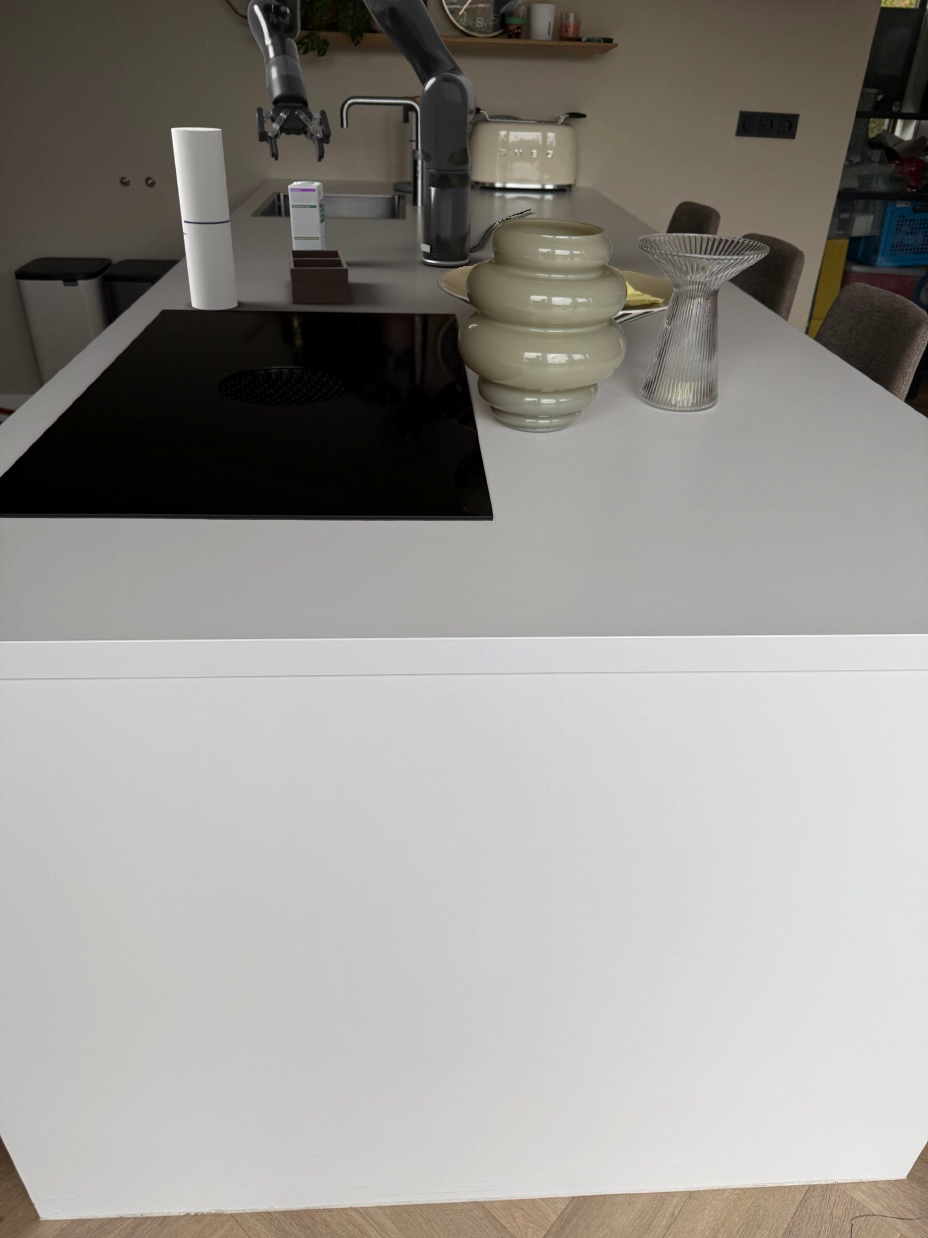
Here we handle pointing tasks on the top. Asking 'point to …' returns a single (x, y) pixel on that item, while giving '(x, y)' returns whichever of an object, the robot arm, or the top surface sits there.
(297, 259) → the compartment organizer box
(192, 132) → the cylindrical container
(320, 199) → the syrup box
